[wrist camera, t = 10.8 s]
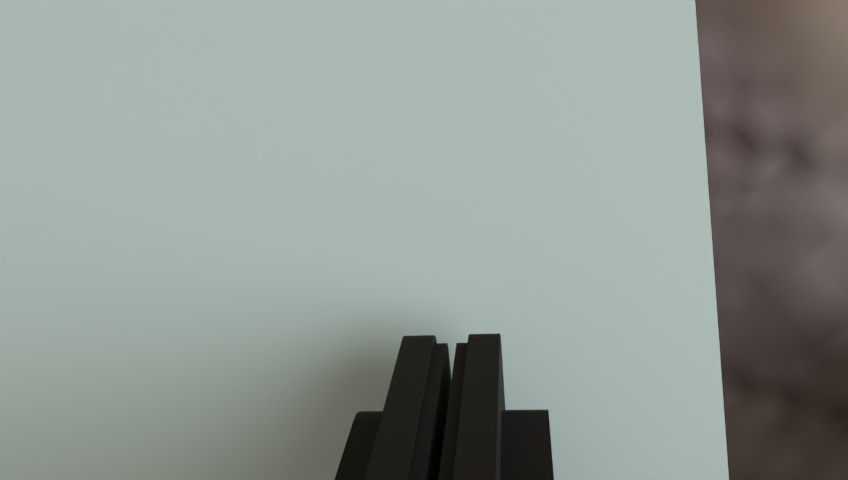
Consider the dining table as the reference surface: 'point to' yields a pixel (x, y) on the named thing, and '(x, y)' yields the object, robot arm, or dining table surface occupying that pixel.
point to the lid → (349, 229)
